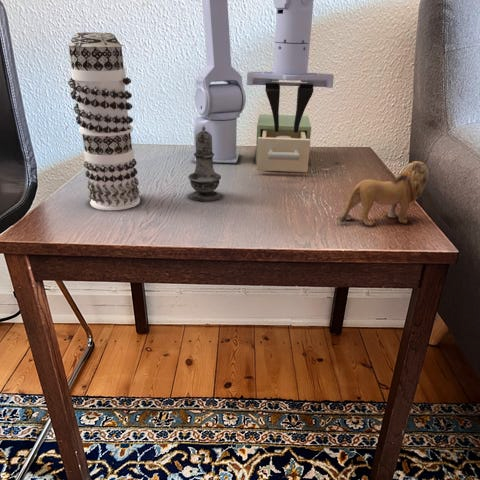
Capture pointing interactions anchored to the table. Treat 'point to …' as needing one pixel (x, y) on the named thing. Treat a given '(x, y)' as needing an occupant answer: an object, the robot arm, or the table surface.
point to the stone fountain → (204, 169)
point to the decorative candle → (104, 119)
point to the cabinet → (281, 125)
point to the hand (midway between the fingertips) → (286, 131)
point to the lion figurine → (389, 192)
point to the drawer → (283, 151)
